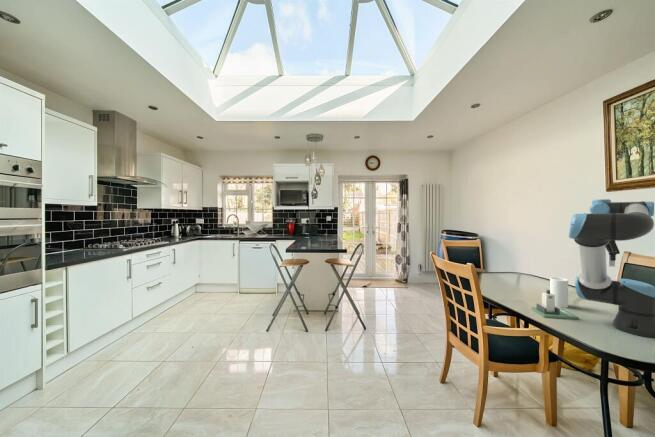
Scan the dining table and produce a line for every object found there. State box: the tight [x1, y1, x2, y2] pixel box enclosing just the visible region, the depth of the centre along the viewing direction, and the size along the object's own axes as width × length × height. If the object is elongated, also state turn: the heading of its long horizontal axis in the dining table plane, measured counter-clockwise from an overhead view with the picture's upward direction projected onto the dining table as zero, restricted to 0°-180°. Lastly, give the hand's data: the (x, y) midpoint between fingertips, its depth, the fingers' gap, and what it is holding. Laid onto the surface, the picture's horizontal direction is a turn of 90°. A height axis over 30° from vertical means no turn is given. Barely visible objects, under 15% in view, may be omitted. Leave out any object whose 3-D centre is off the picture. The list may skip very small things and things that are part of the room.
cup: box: [549, 276, 569, 309], centre depth 157 cm, size 8×8×16 cm
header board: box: [531, 303, 580, 320], centre depth 144 cm, size 12×16×4 cm
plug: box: [541, 289, 556, 312], centre depth 144 cm, size 4×4×12 cm
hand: (600, 264), depth 148 cm, fingers open, 13 cm apart
